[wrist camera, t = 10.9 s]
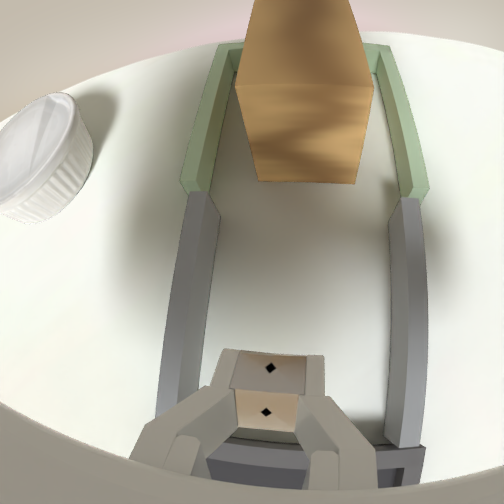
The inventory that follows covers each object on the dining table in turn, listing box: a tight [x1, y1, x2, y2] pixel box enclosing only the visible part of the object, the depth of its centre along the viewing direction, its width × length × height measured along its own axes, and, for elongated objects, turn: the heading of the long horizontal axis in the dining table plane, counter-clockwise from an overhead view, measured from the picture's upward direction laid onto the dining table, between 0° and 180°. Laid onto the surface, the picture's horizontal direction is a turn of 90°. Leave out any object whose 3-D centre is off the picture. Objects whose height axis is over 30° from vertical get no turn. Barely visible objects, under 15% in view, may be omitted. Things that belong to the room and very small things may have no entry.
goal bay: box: [179, 42, 430, 205], centre depth 20 cm, size 14×14×2 cm
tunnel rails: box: [155, 191, 428, 448], centre depth 15 cm, size 12×12×3 cm
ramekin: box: [0, 92, 93, 224], centre depth 21 cm, size 11×11×5 cm
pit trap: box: [206, 437, 426, 490], centre depth 13 cm, size 14×6×2 cm, turn 84°
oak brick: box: [235, 0, 374, 184], centre depth 18 cm, size 6×10×8 cm, turn 174°
